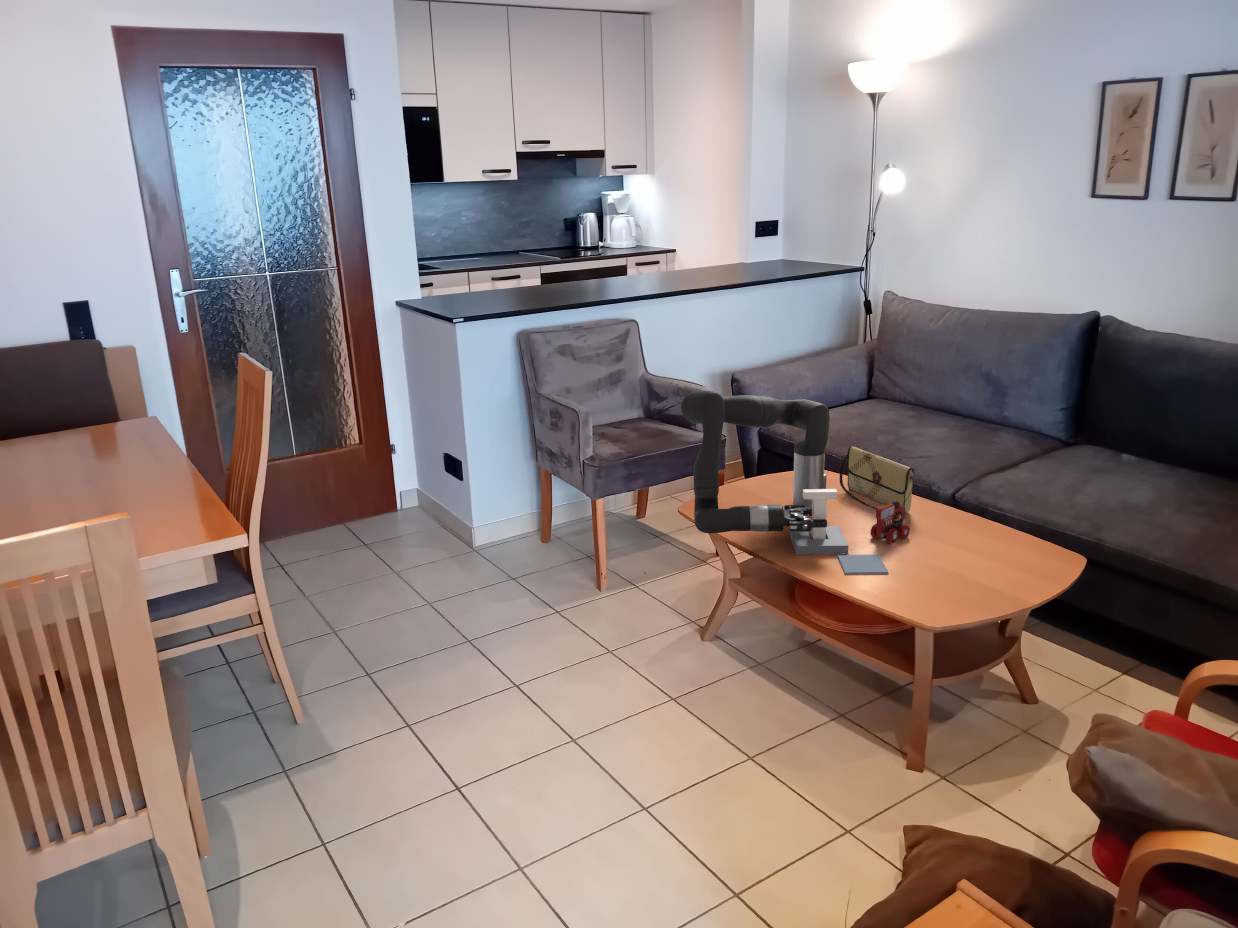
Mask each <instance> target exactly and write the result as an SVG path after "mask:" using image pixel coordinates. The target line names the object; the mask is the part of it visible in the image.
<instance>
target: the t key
mask: <svg viewBox="0 0 1238 928" xmlns="http://www.w3.org/2000/svg"><path fill="white" fill-rule="evenodd" d="M803 498H804V499H812V516H811V519H826V520H827V511H828V509H827V508H828V506H827V505H828V500H834V499H836V500H837V499H838V490H837V489H836V488H826V489H803ZM811 539H826V527H824V528H813V529H812V531H811Z"/></svg>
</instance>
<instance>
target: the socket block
mask: <svg viewBox="0 0 1238 928" xmlns="http://www.w3.org/2000/svg"><path fill="white" fill-rule="evenodd" d="M789 536H790V539H791V542H792V546H793V549H794V551H795V552H794V553H795V555H798V556H799V555H849V544H848V540H847V539H846V537H845V535H844V533H843V531H842V529H841V527H840V525H827V527H826V539H811V532H796V531H790V530H789Z"/></svg>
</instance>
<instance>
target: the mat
mask: <svg viewBox="0 0 1238 928" xmlns="http://www.w3.org/2000/svg"><path fill="white" fill-rule="evenodd" d="M837 558H838V562H839V563H840V565H841V568H842V571H843V573H844V574H845V575H887V574H888V575H889V571H888V568H887V567H886V565H885V563H884V561H883V560H882V558H881V556H880V554H875V553H874V554H837Z"/></svg>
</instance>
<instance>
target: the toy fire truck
mask: <svg viewBox="0 0 1238 928" xmlns="http://www.w3.org/2000/svg"><path fill="white" fill-rule="evenodd" d="M877 508H878V509H877V510H875V519H876V523H874V524H873V525H872V526H871V528H870V536H871V537H872V538H874V539H883V538H884V539H885V541H886V542H887V543H888V544H891V545H892V544H895V543H897V541H898V539H901V540H902V539H903V540H905V539H906V538H908V537H909V535H910V533H911V531H910V530H911V529H910V526H909V525H908V524H906V514H905V513H904V511H903V508H902V506H900V503H899V502H898V501H894V502H893V503H892V504H887V505H885V504H884V505H883V506H881V507H877Z"/></svg>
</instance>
